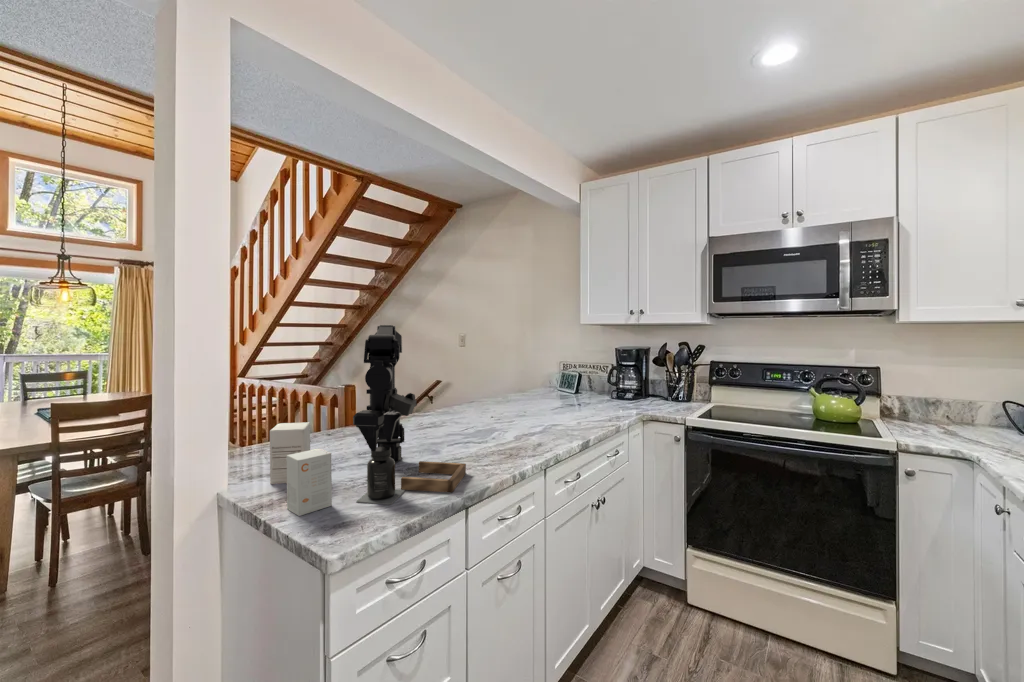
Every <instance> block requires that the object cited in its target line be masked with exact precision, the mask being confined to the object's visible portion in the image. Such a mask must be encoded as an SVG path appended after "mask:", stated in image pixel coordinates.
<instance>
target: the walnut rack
mask: <svg viewBox="0 0 1024 682" xmlns="http://www.w3.org/2000/svg"><path fill="white" fill-rule="evenodd" d="M466 467H467V463H465V462H464V463H462V462H443V461H425V460H424V461H421V460H420V461H419V462H418V473H421V474H439V475H440V474H443V475H451V476H450V477H449V479H447V478H446V479H445V478H433V477H432V478H431V477H429V478H428V477H416V476H415V477H414V476H401V477H400V490H405V491H418V492H419V491H420V492H421V491H423V492H437V493H451V494H452V493H453V492H454V491H455V489H456V488H457V486H458V485H459V483H460V482H461V481H462V480H463V478H464V477H465V475H466V473H467V472H466V471H467V470H466V469H467V468H466Z"/></svg>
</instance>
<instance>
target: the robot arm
mask: <svg viewBox="0 0 1024 682" xmlns="http://www.w3.org/2000/svg"><path fill="white" fill-rule="evenodd" d="M376 328H377V329H376V330H377V331H376V332H375V333H373V334H370V335H368V337H367V339H365V341H364V343H365V344H364V355H363V364H370V366H369V369H367V371H366V373H365V376H364V380H365V384H366V385H367V387H368V389H366V395H369V405H366V409H363V410H361V411H358V412H356V413H355V414H354V415H353V417H352V424H353V425H354V426H356V428H357V429H358V430H359V431H360V432H361V435H362V436H363V438H364V440H365V442H366V444H367V446H368V447H369V450H370V452H371V451H376V447H390V448H391V456H390V457H391V458H392V459H394V461H395V465H396V464H397V463H398V462H400V461H401V460H402V459H403V457H402V446H401V444H403V443H405V428H404V427H403V424H402V423H401V417H402V416H404V417H407V416H409V415H411V414H413V412H414V409H415V407H417V400H416V395H415V394H414V393H412V392H409V393H407V394H406V395H403V394H402V395H401V394H398V388H397V387H396V365H397V364H398V362H399V360H400V356H401V354H402V353H403V337H402V334H400V333H399V331H397V330H396V325H392V324H391V325H388V324H386V325H385V324H380V325H377V327H376Z"/></svg>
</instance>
